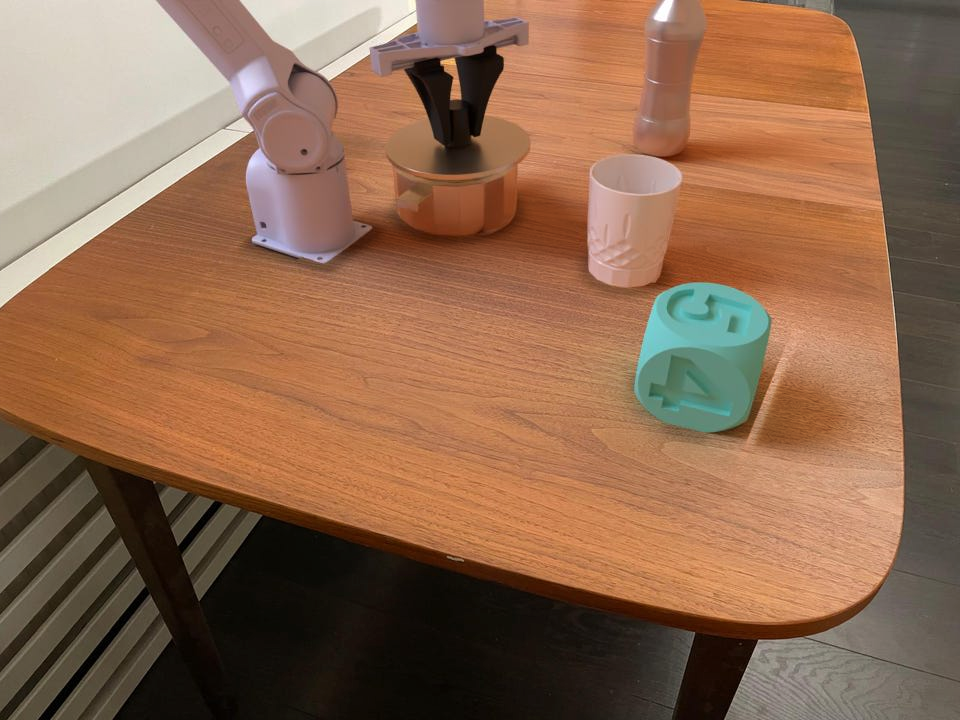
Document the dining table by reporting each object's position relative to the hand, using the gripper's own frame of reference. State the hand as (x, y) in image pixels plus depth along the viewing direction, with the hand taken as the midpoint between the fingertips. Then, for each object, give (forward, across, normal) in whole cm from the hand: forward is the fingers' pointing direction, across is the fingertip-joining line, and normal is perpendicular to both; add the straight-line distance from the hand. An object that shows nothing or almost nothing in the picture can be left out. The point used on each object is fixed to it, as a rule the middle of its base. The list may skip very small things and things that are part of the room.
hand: (457, 137), depth 71 cm
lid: (+1, 0, 0) cm, 1 cm away
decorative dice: (+11, +3, -31) cm, 33 cm away
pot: (+10, +2, +5) cm, 11 cm away
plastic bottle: (+11, +30, +5) cm, 32 cm away
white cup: (+11, +10, -14) cm, 20 cm away
